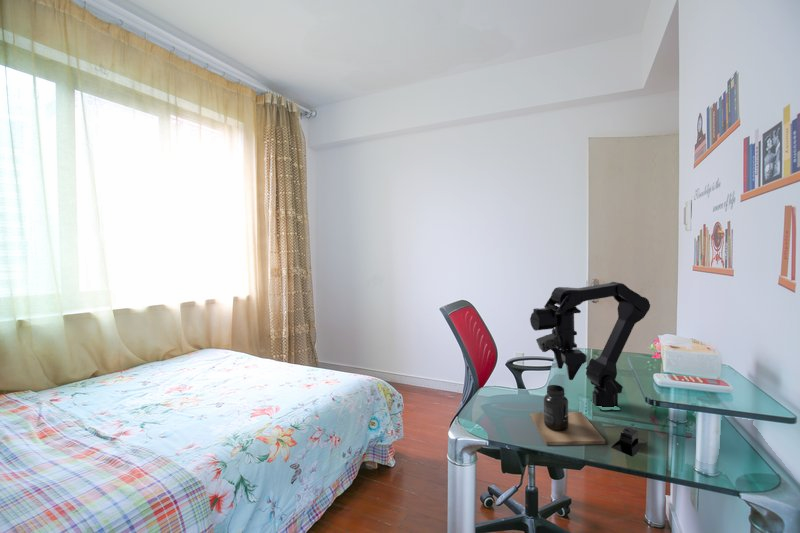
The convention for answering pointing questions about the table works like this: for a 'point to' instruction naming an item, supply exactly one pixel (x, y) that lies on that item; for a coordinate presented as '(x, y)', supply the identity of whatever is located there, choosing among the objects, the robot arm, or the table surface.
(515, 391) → the table surface
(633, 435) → the black block on base
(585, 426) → the board
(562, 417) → the supplement bottle
